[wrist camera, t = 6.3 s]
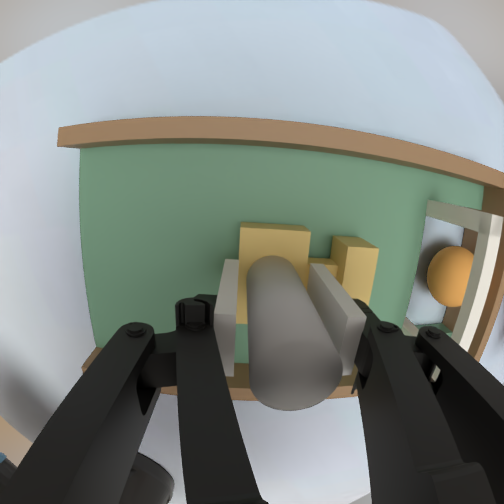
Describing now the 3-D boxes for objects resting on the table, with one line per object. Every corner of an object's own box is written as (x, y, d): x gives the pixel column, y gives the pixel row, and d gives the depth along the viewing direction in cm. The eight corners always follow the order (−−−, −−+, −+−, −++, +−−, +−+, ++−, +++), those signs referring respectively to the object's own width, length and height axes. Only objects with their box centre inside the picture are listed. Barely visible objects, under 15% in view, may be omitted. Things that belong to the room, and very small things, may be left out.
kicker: (236, 309, 20) (231, 435, 9) (240, 221, 18) (237, 289, 8) (347, 312, 20) (418, 417, 10) (361, 230, 19) (469, 291, 8)
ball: (448, 304, 22) (420, 315, 20) (440, 252, 23) (411, 254, 21) (492, 297, 18) (470, 308, 16) (482, 239, 19) (460, 239, 17)
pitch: (107, 346, 23) (63, 411, 14) (94, 134, 18) (18, 121, 10) (439, 350, 24) (485, 401, 16) (477, 173, 20) (550, 182, 11)
